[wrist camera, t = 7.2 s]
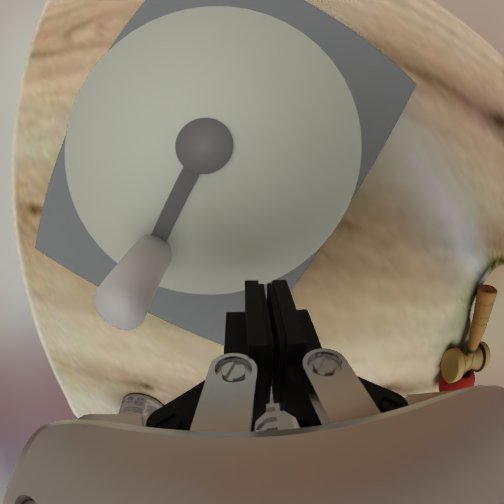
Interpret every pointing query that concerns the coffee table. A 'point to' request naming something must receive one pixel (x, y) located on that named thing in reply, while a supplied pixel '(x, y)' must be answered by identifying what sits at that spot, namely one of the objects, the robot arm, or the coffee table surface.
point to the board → (373, 139)
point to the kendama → (469, 347)
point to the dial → (209, 155)
